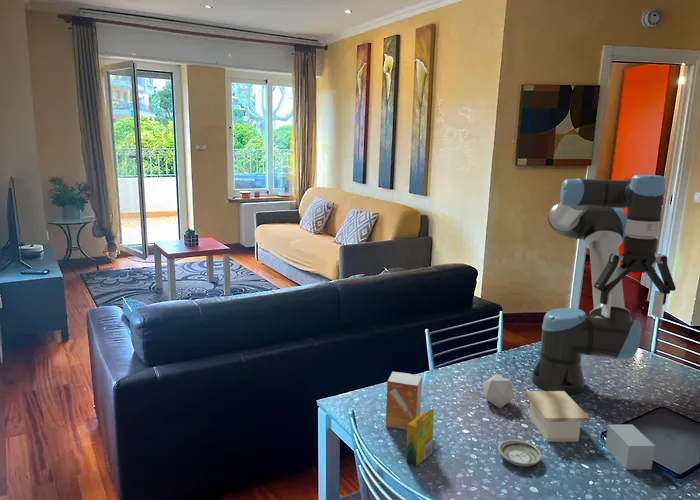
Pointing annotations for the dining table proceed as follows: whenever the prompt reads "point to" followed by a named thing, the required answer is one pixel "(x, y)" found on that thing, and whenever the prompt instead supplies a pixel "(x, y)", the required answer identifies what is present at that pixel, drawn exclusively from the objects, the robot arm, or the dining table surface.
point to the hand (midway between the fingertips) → (630, 316)
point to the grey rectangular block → (630, 447)
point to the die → (498, 390)
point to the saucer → (519, 452)
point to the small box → (403, 399)
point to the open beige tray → (555, 428)
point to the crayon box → (420, 438)
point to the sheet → (556, 406)
